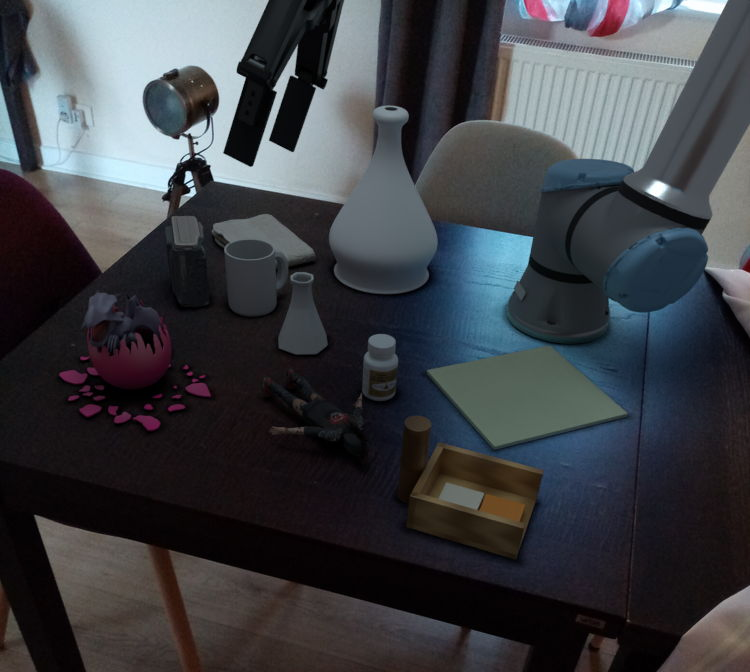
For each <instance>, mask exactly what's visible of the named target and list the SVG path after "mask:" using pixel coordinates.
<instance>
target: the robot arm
mask: <svg viewBox="0 0 750 672" xmlns="http://www.w3.org/2000/svg"><path fill="white" fill-rule="evenodd" d="M344 3H345V0H268V2H267V3H266V5H265V8H264V10H263V12H262V14H261V16H260V19H259V21H258V23H257V25H256V27H255V30H254V32H253V33H252V36H251V38H250V40H249V43H248V45H247V47H246V49H245V51H244V54H243V56H242V58H241V60H240V61H238V63H237V66H236V74H238V75H239V76H242V77H244V78H245V80H244V83H243V85H242V88H241V92H240V96H239V99H238V101H237V105H236V109H235V112H234V115H233V117H232V122H231V125H230V128H229V132H228V136H227V139H226V141H225V146H224V150H223V152H222V154H224V155H226V156H228V157H230V158H231V159H233V160H236V161H238V162H239V163H241V164H244V165H245V166H248V168H249V167H250V168H252V167H254V164H255V162H256V158H257V156H258V152H259V149H260V146H261V143H262V140H263V136H264V134H265V131H266V128H267V125H268V121H269V119H270V115H271V112H272V109H273V106H274V103H275V99H276V97H277V93H278V91H276V90H274V88H275V87H276V86H277V83H278V81H279V80H280V78H281V76H282V74H283V72H284V71H285V69H286V67H287V65H288V63H289V61H290V60H291V58H292V56H293V54H294V52H296V58H295V65H294V66H295V67H294V75H289V77H288V80H287V84H286V87H285V90H284V92H283V96H282V98H281V102H280V104H279V108H278V110H277V114H276V118H275V119H274V123H273V126H272V129H271V132H270V136H269V138H268V141H269V142H270V143H273V144H275V145H277V146H279V147H281V148H283V149H284V150H286V151H288V152H291V153H294V152H295V150H296V148H297V145H298V141H299V139H300V136H301V134H302V130H303V128H304V124H305V122H306V119H307V117H308V113H309V110H310V107H311V104H312V101H313V98H314V96H315V93H316V90H317V88H319V89H321V90H325V89H326V87H327V84H328V81H329V79H328V78H326V77H327V75H328V70H329V65H330V61H331V57H332V52H333V48H334V44H335V41H336V36H337V32H338V28H339V25H340V19H341V15H342V11H343V6H344ZM295 50H296V51H295ZM749 127H750V0H727V1H726V3H725V6H724V7H723V9H722V11H721V13H720V15H719V16H718V18H717V21H716V23H715V24H714V27H713V29H712V31H711V32H710V35H709V37H708V39H707V40H706V43H705V45H704V47H703V48H702V50H701V53H700V55H699V56H698V58H697V60H696V63H695V65H694V66H693V68H692V70H691V72H690V74H689V76H688V78H687V80H686V83H685V84H684V86H683V88H682V90H681V92H680V94H679V95H678V98H677V99H676V101H675V103H674V106H673V107H672V109H671V111H670V114H669V115H668V117H667V120H666V121H665V124H664V125H663V128H662V129H661V131H660V133H659V135H658V137H657V139H656V141H655V143H654V145H653V147H652V148H651V151H650V153H649V155H648V157H647V159H646V161H645V163H644V164H643V166H642V167H641V168H640V169H638V170H634V168H632V166H630V165H628V164H626V163H623V162H618V161H614V160H607V159H599V158H569V159H564V160H560V161H557V162H555V163H553V164H551V165H550V166H549V167H548V168H547V170H546V173H545V176H544V180H543V183H542V186H541V188H540V198H539V204H538V209H537V214H536V220H535V224H534V225H535V226H534V231H533V235H532V240H531V245H530V251H529V257H528V262H527V265H526V268H525V270H524V272H523V274H522V275H521V278H520V280H516V283H515V284H514V287H513V291H512V293H511V295H510V296H509V299H508V304H507V308H506V316H507V318H508V321H509V322H510V323H511V324H512V326H514V327H515V328H516V329H518V330H519V331H520V332H522V333H524V334H526V335H528V336H530V337H531V338H532V337H533V338H535V339H537V340H541V341H545V342H551V343H555V344H564V345H565V344H566V345H567V344H574V345H575V344H583V343H589V342H591V341H595V340H596V339H599V338H601V337H602V336H603V335H604V334H605V333H606V331H607V328H608V325H609V321H610V317H611V312H610V310H611V309H610V301H613V302H615V303H617V304H619V305H621V306H622V307H623V308H624V309H626V310H628V311H631V312H634V313H640V314H641V313H642V314H643V313H652V312H656V311H660V310H662V309H665V308H666V307H667V306H669V305H673V304H675V303H676V302H678V301H680V299H682V298H683V297H684V296H686V295H687V294H688V293H689V292H690V291H691V290H692V289H693V288H694V286H696V284H697V283H698V282H699V280H700V279H701V277H702V276H703V274H704V272H705V270H706V267H707V265H708V261H709V255H708V252H709V246H708V243H707V241H706V239H705V237H704V235H703V234H704V232H705V230H706V229H707V227H708V225H709V223H710V221H711V219H712V218H713V215H714V214H713V211H712V206H711V203H710V196H711V194H712V192H713V190H714V189H715V187H716V186H717V185H716V184H717V183H718V182H719V180H720V178H721V176H722V175H723V172H724V171H725V169H726V168H727V166H728V164H729V162H730V160H731V158H732V156H733V155H734V153H735V152H736V149H738V146H739V144H740V142H741V141H742V139H743V137H744V135H745V134H746V132H747V130H748V129H749Z"/></svg>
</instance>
